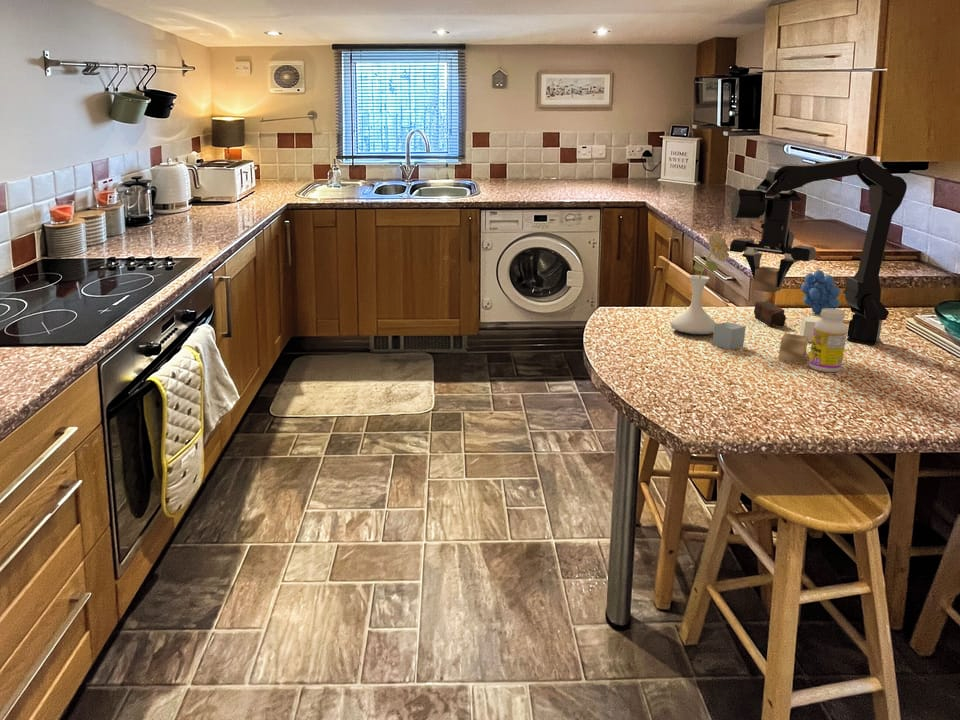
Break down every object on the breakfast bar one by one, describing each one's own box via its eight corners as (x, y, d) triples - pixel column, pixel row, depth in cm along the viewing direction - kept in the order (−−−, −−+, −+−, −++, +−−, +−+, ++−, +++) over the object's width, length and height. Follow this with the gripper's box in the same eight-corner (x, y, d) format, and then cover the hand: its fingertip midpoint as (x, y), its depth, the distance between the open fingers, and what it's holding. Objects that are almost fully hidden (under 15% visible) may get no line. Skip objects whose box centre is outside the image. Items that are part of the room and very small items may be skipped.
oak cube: (805, 358, 198) (808, 336, 196) (801, 363, 194) (805, 341, 192) (782, 354, 200) (785, 333, 199) (778, 359, 196) (781, 337, 194)
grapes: (789, 311, 243) (795, 268, 240) (803, 308, 247) (809, 266, 244) (827, 320, 235) (834, 276, 231) (841, 317, 239) (848, 273, 235)
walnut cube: (780, 289, 210) (783, 269, 209) (773, 292, 207) (776, 271, 205) (760, 286, 213) (762, 266, 212) (752, 289, 209) (755, 268, 208)
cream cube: (821, 338, 216) (824, 318, 215) (824, 343, 211) (827, 323, 210) (799, 336, 217) (802, 316, 216) (802, 341, 212) (805, 321, 211)
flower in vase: (688, 339, 209) (699, 234, 202) (660, 328, 219) (670, 227, 212) (732, 335, 215) (744, 233, 208) (702, 324, 225) (713, 226, 217)
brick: (752, 318, 235) (754, 301, 233) (766, 318, 235) (768, 301, 234) (770, 328, 225) (772, 310, 223) (784, 328, 225) (787, 310, 224)
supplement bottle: (803, 363, 193) (812, 306, 190) (834, 364, 193) (843, 307, 189) (814, 372, 187) (822, 313, 183) (845, 373, 187) (855, 314, 183)
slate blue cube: (743, 347, 205) (745, 326, 204) (729, 350, 202) (732, 329, 201) (725, 342, 209) (727, 321, 207) (712, 345, 206) (714, 324, 204)
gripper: (827, 221, 206) (817, 286, 211) (749, 212, 217) (741, 275, 221) (812, 225, 198) (802, 293, 202) (732, 216, 208) (724, 281, 213)
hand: (767, 285), depth 210 cm, fingers closed on walnut cube, 5 cm apart
